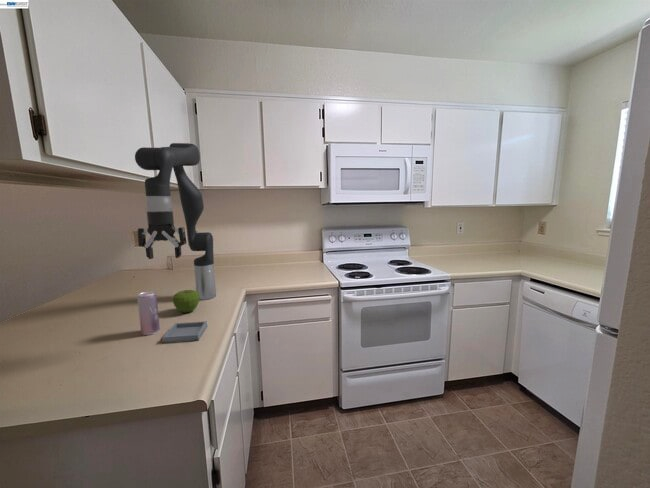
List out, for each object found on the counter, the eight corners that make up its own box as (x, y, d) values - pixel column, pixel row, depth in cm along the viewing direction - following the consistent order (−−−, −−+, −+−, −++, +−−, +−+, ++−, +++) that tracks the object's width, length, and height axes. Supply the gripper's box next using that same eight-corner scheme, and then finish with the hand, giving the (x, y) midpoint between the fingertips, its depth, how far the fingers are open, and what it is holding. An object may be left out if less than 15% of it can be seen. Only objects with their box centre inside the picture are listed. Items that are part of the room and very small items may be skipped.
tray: (175, 328, 108) (175, 323, 107) (207, 326, 109) (206, 321, 109) (162, 343, 96) (162, 337, 96) (198, 340, 98) (197, 334, 98)
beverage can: (151, 327, 109) (147, 290, 106) (163, 329, 107) (159, 291, 105) (137, 334, 103) (132, 295, 101) (149, 336, 101) (145, 296, 99)
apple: (173, 318, 117) (171, 295, 116) (174, 309, 127) (172, 288, 125) (201, 313, 122) (199, 291, 121) (200, 305, 131) (199, 285, 130)
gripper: (186, 209, 97) (190, 255, 100) (142, 210, 95) (147, 256, 98) (178, 210, 90) (182, 259, 92) (130, 210, 88) (136, 261, 90)
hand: (164, 258), depth 95 cm, fingers open, 8 cm apart
